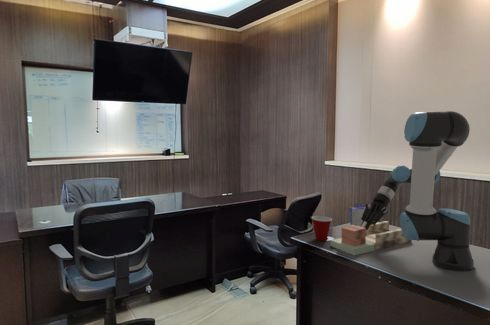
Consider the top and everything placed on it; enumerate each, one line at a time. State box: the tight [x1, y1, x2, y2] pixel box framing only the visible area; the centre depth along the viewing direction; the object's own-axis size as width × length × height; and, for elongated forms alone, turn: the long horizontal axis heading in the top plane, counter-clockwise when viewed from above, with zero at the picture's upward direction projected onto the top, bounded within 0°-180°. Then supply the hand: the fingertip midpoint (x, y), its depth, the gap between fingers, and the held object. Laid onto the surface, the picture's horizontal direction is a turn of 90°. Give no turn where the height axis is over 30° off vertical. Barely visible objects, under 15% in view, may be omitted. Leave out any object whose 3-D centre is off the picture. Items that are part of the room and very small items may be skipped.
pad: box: [330, 237, 375, 257], centre depth 169 cm, size 13×16×3 cm
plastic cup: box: [311, 215, 333, 242], centre depth 183 cm, size 11×11×12 cm
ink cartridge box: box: [349, 203, 365, 226], centre depth 202 cm, size 10×6×14 cm, turn 89°
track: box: [359, 220, 412, 251], centre depth 178 cm, size 27×16×7 cm, turn 118°
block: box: [341, 224, 366, 246], centre depth 167 cm, size 8×8×8 cm
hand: (360, 233), depth 171 cm, fingers closed
